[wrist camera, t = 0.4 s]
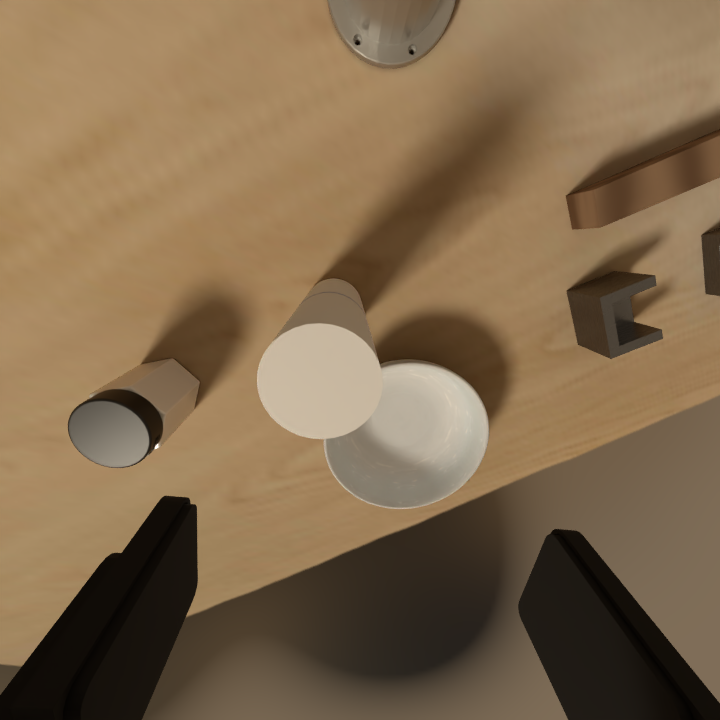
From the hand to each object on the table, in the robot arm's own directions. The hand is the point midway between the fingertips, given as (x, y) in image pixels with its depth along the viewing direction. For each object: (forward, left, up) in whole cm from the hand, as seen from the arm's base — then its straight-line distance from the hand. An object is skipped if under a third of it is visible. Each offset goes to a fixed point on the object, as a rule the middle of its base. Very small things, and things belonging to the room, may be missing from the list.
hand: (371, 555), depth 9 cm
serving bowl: (+17, 0, -36) cm, 40 cm away
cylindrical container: (-1, -2, -36) cm, 36 cm away
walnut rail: (0, +38, -36) cm, 53 cm away
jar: (0, -27, -36) cm, 45 cm away
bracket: (+13, +30, -36) cm, 49 cm away
